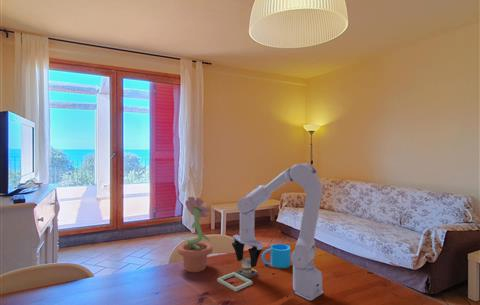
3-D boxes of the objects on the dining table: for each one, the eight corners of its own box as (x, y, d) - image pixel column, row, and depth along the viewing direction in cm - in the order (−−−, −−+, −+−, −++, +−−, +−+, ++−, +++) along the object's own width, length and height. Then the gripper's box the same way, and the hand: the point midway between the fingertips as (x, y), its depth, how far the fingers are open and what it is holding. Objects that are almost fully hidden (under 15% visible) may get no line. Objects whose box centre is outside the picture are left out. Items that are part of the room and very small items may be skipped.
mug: (288, 262, 121) (288, 243, 121) (292, 270, 113) (292, 250, 113) (260, 262, 121) (260, 244, 121) (262, 270, 113) (263, 250, 113)
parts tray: (252, 286, 99) (252, 281, 99) (235, 294, 94) (235, 288, 94) (233, 277, 106) (233, 272, 106) (217, 283, 101) (217, 278, 101)
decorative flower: (221, 267, 116) (221, 195, 115) (201, 281, 103) (202, 200, 103) (192, 260, 122) (192, 192, 122) (170, 272, 110) (170, 197, 110)
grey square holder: (257, 277, 107) (257, 271, 107) (246, 282, 103) (246, 275, 103) (247, 272, 111) (247, 266, 111) (235, 276, 107) (235, 270, 107)
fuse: (254, 274, 107) (254, 260, 107) (246, 277, 104) (246, 262, 104) (246, 271, 110) (247, 257, 110) (239, 274, 107) (239, 259, 107)
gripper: (268, 230, 104) (267, 266, 104) (241, 222, 115) (241, 255, 115) (254, 233, 100) (254, 271, 100) (228, 225, 110) (228, 259, 110)
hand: (246, 263), depth 107 cm, fingers open, 7 cm apart
